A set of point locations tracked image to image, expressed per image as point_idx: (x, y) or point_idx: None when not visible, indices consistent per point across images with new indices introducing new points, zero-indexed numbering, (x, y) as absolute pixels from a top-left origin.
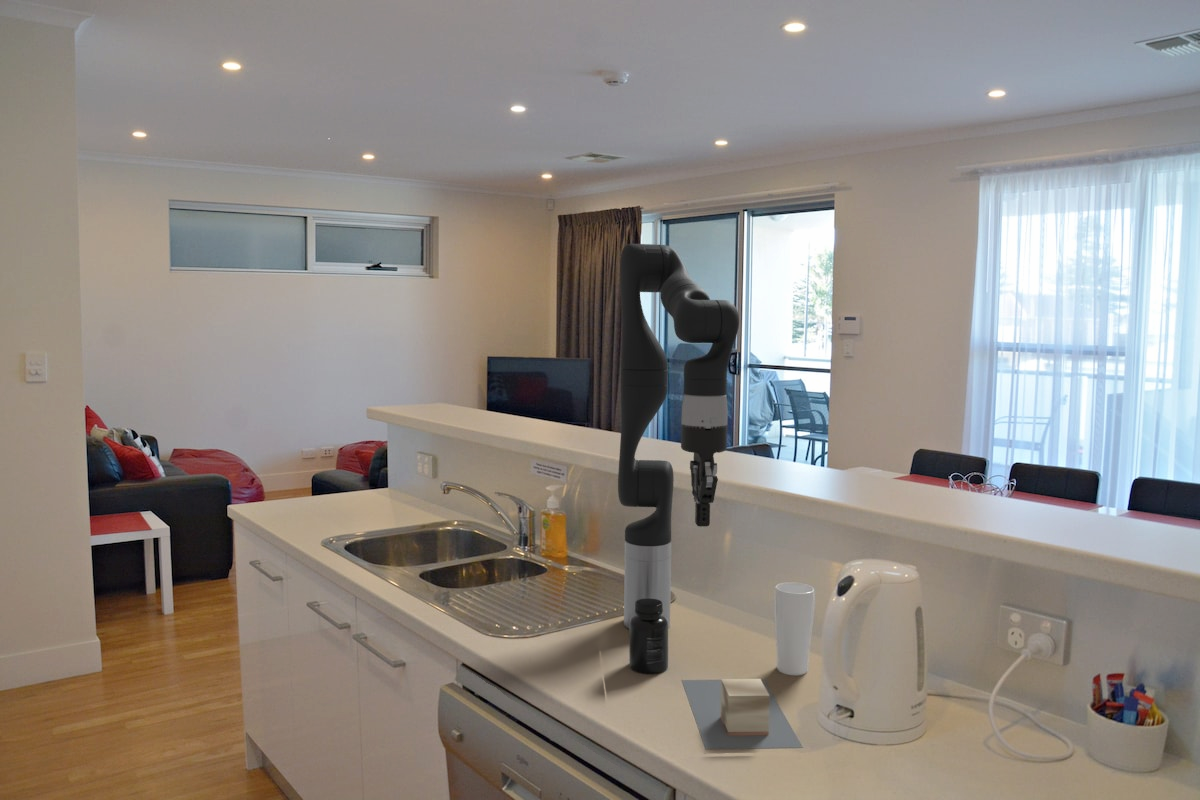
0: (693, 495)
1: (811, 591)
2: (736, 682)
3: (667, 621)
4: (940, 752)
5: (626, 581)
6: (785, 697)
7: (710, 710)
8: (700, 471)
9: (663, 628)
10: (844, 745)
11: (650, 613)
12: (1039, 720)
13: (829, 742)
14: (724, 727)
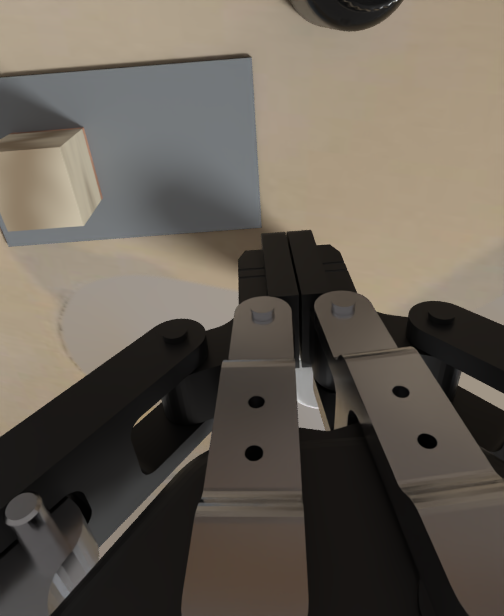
0: (418, 305)
1: (300, 403)
2: (51, 177)
3: (350, 28)
4: (61, 391)
5: None
6: (197, 250)
7: (108, 109)
8: (72, 604)
9: (313, 12)
10: (46, 299)
11: None
12: (167, 483)
13: (49, 283)
14: (41, 129)
